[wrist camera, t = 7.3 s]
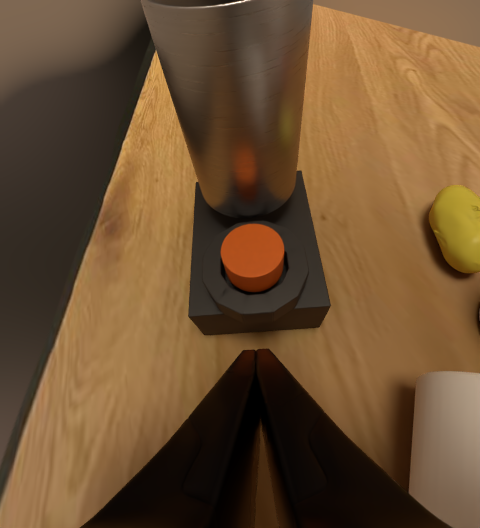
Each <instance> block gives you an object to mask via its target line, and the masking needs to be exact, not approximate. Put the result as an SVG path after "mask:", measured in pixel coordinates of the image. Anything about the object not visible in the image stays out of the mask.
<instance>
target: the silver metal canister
mask: <svg viewBox="0 0 480 528" xmlns="http://www.w3.org/2000/svg"><path fill="white" fill-rule="evenodd" d="M141 4H142V7H143V10H144V13H145V16H146V19H147V23H148V26H149V29H150V32H151V35H152V38H153V41H154V44H155V48H156V51H157V54H158V57H159V60H160V63H161V66H162V69H163V73H164V76H165V79H166V82H167V85H168V88H169V91H170V94H171V98H172V101H173V104H174V107H175V110H176V113H177V116H178V119H179V123H180V126H181V129H182V132H183V135H184V138H185V141H186V144H187V148H188V151H189V154H190V157H191V160H192V163H193V166H194V169H195V173H196V176H197V179H198V182H199V185H200V188H201V191H202V194H203V197H204V199H205V200H206V202H207V203H208V204H209V205H210V206H211V207H212V208H213V209H214V210H216V211H218V212H219V213H222V214H224V215H227V216H230V217H236V218H252V217H258V216H262V215H265V214H268V213H270V212H272V211H274V210H276V209H278V208H279V207H281V206H282V205H283V204H284V203H285V202H286V201H287V200H288V199H289V197H290V196H291V194H292V193H293V190H294V188H295V183H296V173H297V162H298V152H299V142H300V132H301V121H302V111H303V101H304V90H305V80H306V70H307V59H308V49H309V39H310V28H311V18H312V8H313V0H141Z"/></svg>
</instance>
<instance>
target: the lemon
mask: <svg viewBox="0 0 480 528" xmlns="http://www.w3.org/2000/svg"><path fill="white" fill-rule="evenodd" d="M429 223H430V225H431V228H432V230H433V231H434V233H435V236H436V239H437V241H438V243H439V245H440V248H441V251H442V254H443V256H444V258H445V260H446V261H447V263H448V264H449V265H450V266H452V267H453V268H454V269H456V270H458V271H460V272H463V273H477V272H480V197H479V196H477V195H476V194H475V193H474V192H473V191H472V190H470V189H468V188H467V187H464V186H460V185H452V186H448V187H446V188H444V189H442V190H441V191H440V192H439V193H438V194H437V196H436V198H435V200H434V203H433V206H432V208H431V210H430V213H429Z"/></svg>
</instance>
